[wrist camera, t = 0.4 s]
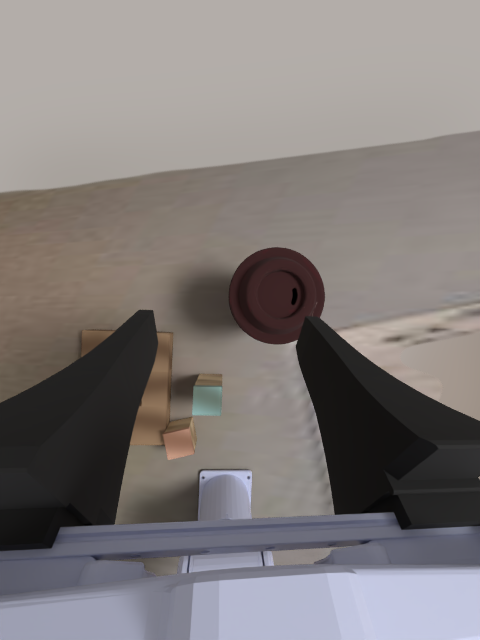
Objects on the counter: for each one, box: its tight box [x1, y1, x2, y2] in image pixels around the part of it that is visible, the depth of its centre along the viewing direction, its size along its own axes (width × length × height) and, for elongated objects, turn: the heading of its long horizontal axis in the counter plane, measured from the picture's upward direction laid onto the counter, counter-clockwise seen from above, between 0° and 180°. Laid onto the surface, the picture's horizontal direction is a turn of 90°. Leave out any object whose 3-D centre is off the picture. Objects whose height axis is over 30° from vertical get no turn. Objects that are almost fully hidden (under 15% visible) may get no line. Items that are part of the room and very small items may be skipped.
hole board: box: [81, 330, 173, 445], centre depth 35 cm, size 16×12×2 cm
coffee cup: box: [229, 247, 325, 344], centre depth 30 cm, size 10×10×15 cm
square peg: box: [192, 374, 222, 416], centre depth 34 cm, size 4×4×7 cm
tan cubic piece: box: [163, 417, 197, 460], centre depth 35 cm, size 4×4×4 cm
